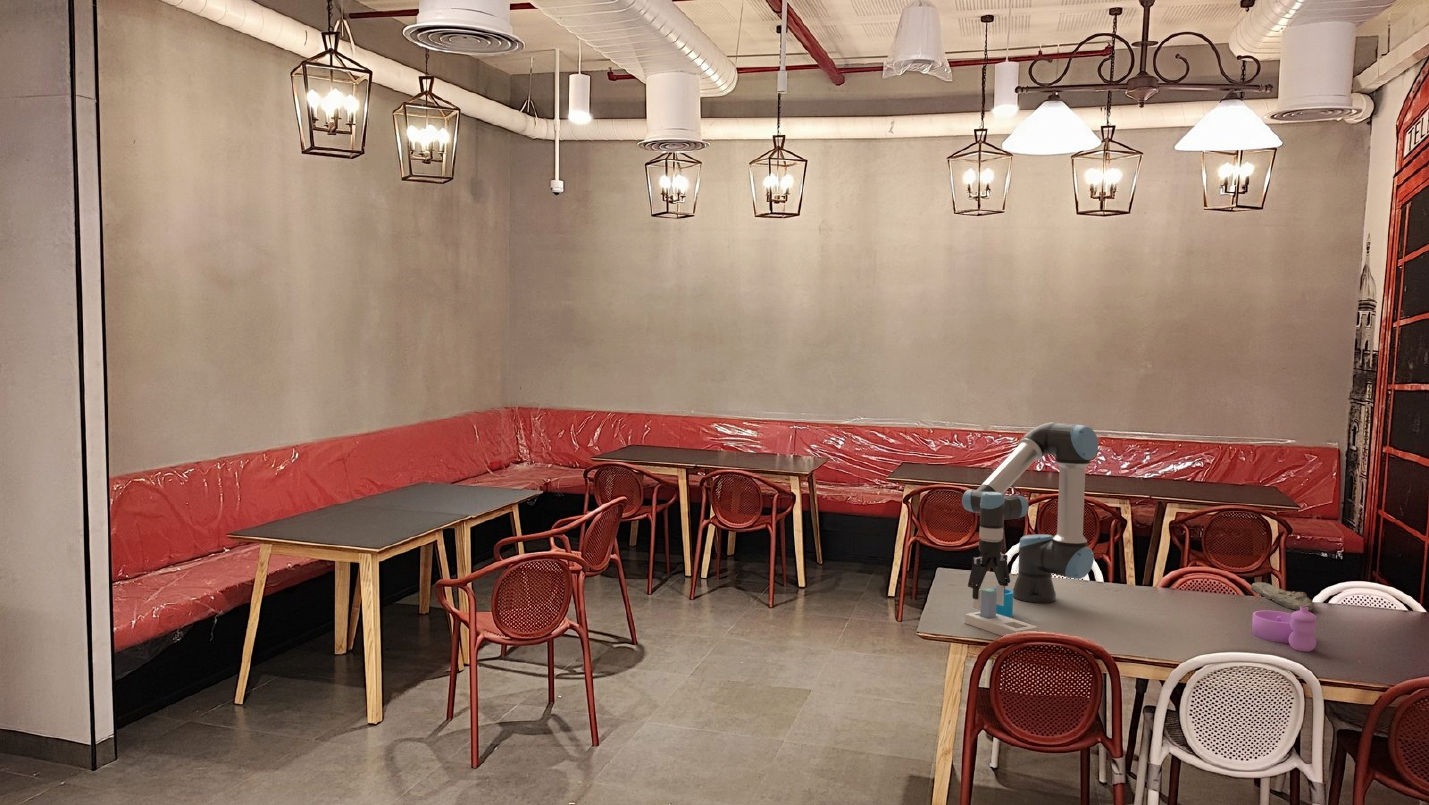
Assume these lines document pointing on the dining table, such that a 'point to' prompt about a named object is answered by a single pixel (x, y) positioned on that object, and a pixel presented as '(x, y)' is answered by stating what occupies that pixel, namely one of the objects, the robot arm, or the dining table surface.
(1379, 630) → the dining table surface
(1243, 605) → the dining table surface
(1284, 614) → the container set
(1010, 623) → the port panel
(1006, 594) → the mug
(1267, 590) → the long grey stone
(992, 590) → the plug
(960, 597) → the dining table surface
